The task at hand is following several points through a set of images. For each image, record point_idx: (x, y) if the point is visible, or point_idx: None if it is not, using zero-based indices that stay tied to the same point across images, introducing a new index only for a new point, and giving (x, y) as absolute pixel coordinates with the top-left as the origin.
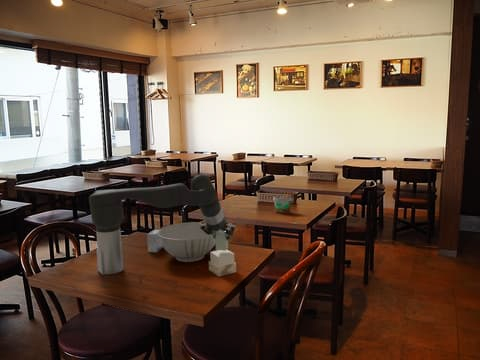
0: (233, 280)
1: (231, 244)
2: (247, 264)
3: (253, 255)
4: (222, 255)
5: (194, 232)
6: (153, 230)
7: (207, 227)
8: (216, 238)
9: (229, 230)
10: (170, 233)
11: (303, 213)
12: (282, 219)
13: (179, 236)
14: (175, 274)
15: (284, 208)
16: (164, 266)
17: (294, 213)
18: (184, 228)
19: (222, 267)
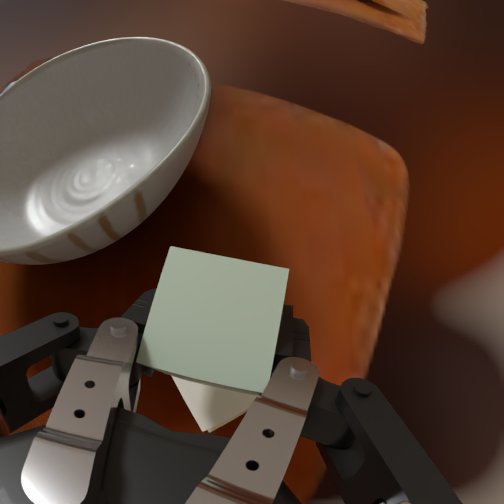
0: (285, 475)
1: (259, 95)
2: (343, 287)
3: (354, 191)
4: (230, 407)
5: (116, 74)
6: (5, 89)
7: (19, 380)
8: (167, 373)
9: (328, 415)
10: (29, 103)
11: (397, 9)
12: (367, 14)
13: (65, 100)
14: (36, 370)
15: None
16: (10, 279)
17: (381, 5)
18: (79, 67)
19: (231, 420)
